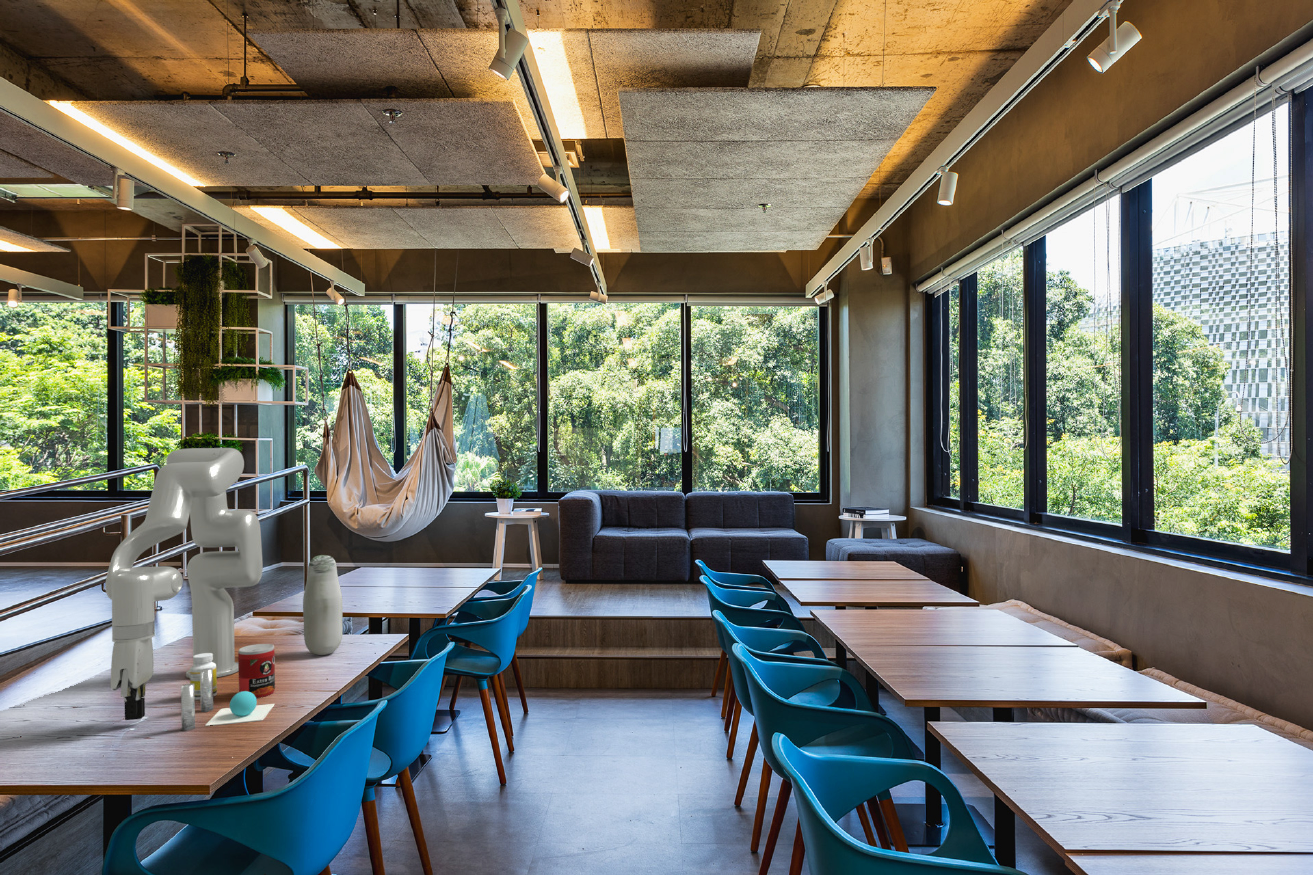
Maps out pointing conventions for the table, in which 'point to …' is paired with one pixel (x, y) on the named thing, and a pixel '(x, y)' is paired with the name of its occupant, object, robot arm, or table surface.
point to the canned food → (257, 669)
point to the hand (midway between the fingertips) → (134, 717)
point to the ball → (243, 703)
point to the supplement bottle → (199, 663)
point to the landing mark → (229, 718)
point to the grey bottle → (322, 606)
